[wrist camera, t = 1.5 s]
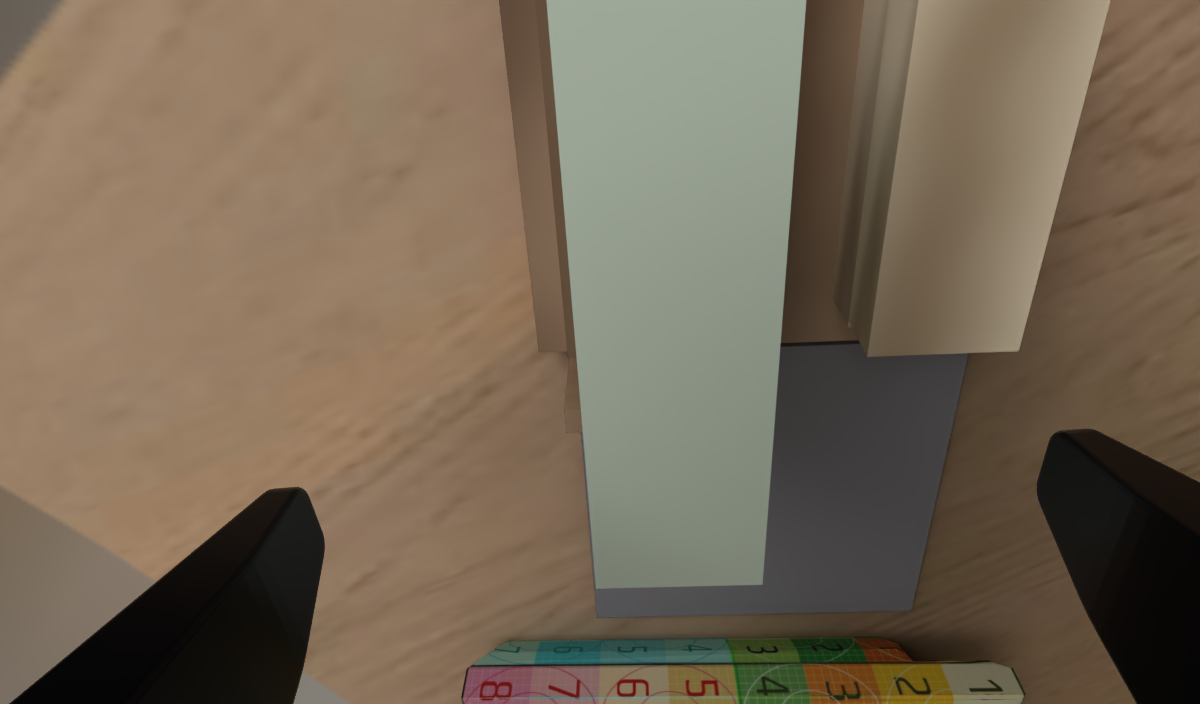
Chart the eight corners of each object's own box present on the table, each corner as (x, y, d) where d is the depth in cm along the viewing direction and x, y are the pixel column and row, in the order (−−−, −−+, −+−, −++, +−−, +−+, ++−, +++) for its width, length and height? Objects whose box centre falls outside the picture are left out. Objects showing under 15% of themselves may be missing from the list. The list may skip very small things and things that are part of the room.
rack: (1072, -154, 17) (1221, -163, 13) (969, 318, 24) (1047, 417, 19) (492, -116, 18) (453, -113, 14) (541, 335, 24) (525, 434, 20)
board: (715, -78, 17) (809, -31, 9) (707, 316, 23) (762, 584, 14) (580, -69, 18) (545, -16, 9) (603, 320, 23) (595, 588, 14)
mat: (966, 333, 24) (971, 339, 24) (908, 602, 30) (911, 610, 30) (575, 347, 24) (574, 354, 24) (597, 609, 31) (596, 617, 30)
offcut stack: (1054, -73, 17) (1148, -62, 14) (975, 290, 22) (1033, 357, 19) (871, -62, 17) (925, -49, 14) (831, 295, 22) (866, 363, 19)
